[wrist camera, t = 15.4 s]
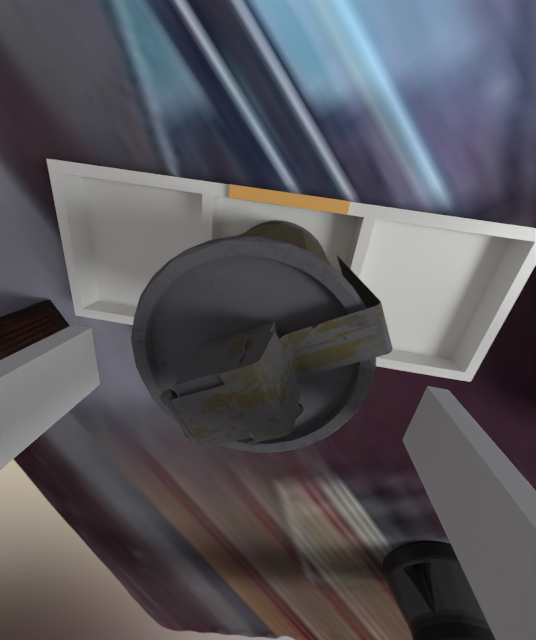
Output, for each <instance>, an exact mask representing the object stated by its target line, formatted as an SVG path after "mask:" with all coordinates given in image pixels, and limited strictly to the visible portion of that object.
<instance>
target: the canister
mask: <svg viewBox="0 0 536 640" xmlns="http://www.w3.org/2000/svg"><path fill="white" fill-rule="evenodd" d="M337 258H338V261H339V265H340V268H341V271H342V274H341V273H340V272H339V271H337V270H336V269H335V268H333V267H332V266H331V264H330V263H329V261H328V260H327V258H326V255H325V252H324V250H323V248H322V246H321V245H320V243H319V242H318V240H317V239H316V238H315V237H314V236H313V235H312V234H311V233H310V232H309V231H307V230H306V229H305V228H303V227H301V226H299V225H297V224H294V223H291V222H287V221H268V222H264V223H261V224H258V225H256V226H254V227H252V228H250V229H249V230H248V231H246V232H245V233H242V234H240V235H237V236H231V237H225V238H219V239H214V240H209V241H206V242H204V243H201V244H199V245H196V246H194V247H191V248H189V249H186V250H185V251H183V252H182V253H180V254H179V255H177V256H175V257H174V258H172V259H171V260H169V261H168V262H167V263H166V264H165V265H164V266H163V267H162V268H161V269H160V270H159V271H158V272H156V273H155V274H154V275H153V277H152V278H151V280H150V281H149V283H148V284H147V286H146V288H145V289H144V291H143V292H142V294H141V295H140V298H139V302H138V305H137V309H136V312H135V316H134V321H133V329H132V337H131V340H132V346H133V352H134V358H135V363H136V367H137V369H138V371H139V373H140V376H141V378H142V380H143V382H144V384H145V385H146V387H147V389H148V391H149V393H150V394H151V396H152V398H153V399H154V400H155V401H156V403H157V404H158V405H159V406H160V407H161V409H162V410H163V411H164V412H165V413H167V414H168V415H169V416H170V417H171V418H173V419H174V420H175V421H176V422H178V423H179V424H180V426H181V427H182V429H183V431H184V434H185V436H186V438H187V437H189V439H190V440H191V442H192V443H193V444H194V445H195V444H196V443H198V444H199V443H204V442H208V443H209V444H210V446H215V445H220V446H223V447H226V448H231V449H236V450H242V451H249V452H255V453H263V452H282V451H288V450H294V449H299V448H302V447H304V446H307V445H310V444H312V443H315V442H317V441H320V440H322V439H324V438H325V437H327V436H328V435H330V434H332V433H333V432H335V431H336V430H338V429H339V428H340V427H341V426H342V425H343V424H344V423H345V422H346V421H348V420H349V419H350V418H351V417H352V416H353V415H354V414H355V413H356V412H357V410H358V408H359V407H360V405H361V403H362V402H363V400H364V398H365V397H366V395H367V393H368V392H369V390H370V388H371V384H372V381H373V377H374V373H375V369H376V357H379V356H382V355H386V354H389V353H390V352H391V351H392V349H393V348H392V344H391V340H390V336H389V332H388V328H387V324H386V320H385V316H384V312H383V308H382V304H381V301H380V300H379V299H378V298H377V297H376V296H375V295H374V294H373V293H372V292H371V291H370V289H369V288H368V287H367V286H366V285H365V284H364V283H363V282H362V281H361V280H360V279H359V278H358V277H357V276H356V275H355V274H354V273H353V271H352V270H351V269H350V268H349V267H348V266H347V265H346V264H345V263H344V262H343V261H342V260H341V259H340V258H339V257H338V256H337ZM342 275H343V276H342Z"/></svg>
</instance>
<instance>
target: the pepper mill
mask: <svg viewBox="0 0 536 640" xmlns="http://www.w3.org/2000/svg"><path fill="white" fill-rule="evenodd" d="M67 327H69V324H68V323H67V322H66V320H65V319H64V318H63V316H62V315H61V314H60V312H59V311H58V310H57V309H56V307H55V306H54V305H53V303H52V302H51V301H50V300H46V301H43V302H39V303H35V304H32V305H30V306H28V307H26V308H24V309H21V310H18V311H16V312H13V313H10V314H7V315H5V316H2V317H0V360H2V359H4V358H6V357H8V356H10V355H12V354H14V353H16V352H18V351H20V350H22V349H24V348H26V347H28V346H31V345H33V344H35V343H37V342H39V341H41V340H43V339H45V338H47V337H49V336H51V335H53V334H55V333H57V332H59V331H61V330H63V329H65V328H67Z"/></svg>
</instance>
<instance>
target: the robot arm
mask: <svg viewBox="0 0 536 640" xmlns="http://www.w3.org/2000/svg"><path fill="white" fill-rule="evenodd" d="M99 385H100V381H99V375H98V368H97V362H96V355H95V348H94V342H93V335H92V328H89V327H83V326H77V325H72V326H69V327H67V328H65V329H63V330H61V331H59V332H57V333H55V334H53V335H51V336H49V337H47V338H45V339H43V340H41V341H39V342H37V343H35V344H33V345H31V346H28V347H26V348H24V349H22V350H20V351H18V352H16V353H14V354H12V355H10V356H8V357H6V358H4V359H2V360H0V470H1V469H2V468H3V467H4V466H5V465H7V464H8V463H9V462H10V461H11V460H12V459H14V458H15V457H16V456H17V455H18V454H19V453H21V452H22V451H23V450H24V449H25V448H26V447H28V446H29V445H30V444H31V443H32V442H33V441H35V440H36V439H37V438H38V437H39V436H40V435H42V434H43V433H44V432H45V431H46V430H47V429H49V428H50V427H51V426H52V425H53V424H54V423H56V422H57V421H58V420H59V419H60V418H61V417H63V416H64V415H65V414H66V413H67V412H68V411H70V410H71V409H72V408H73V407H74V406H75V405H77V404H78V403H79V402H80V401H81V400H82V399H84V398H85V397H86V396H87V395H88V394H89V393H91V392H92V391H93V390H94V389H95V388H96V387H98V386H99ZM403 442H404V445H405V447H406V449H407V451H408V453H409V455H410V457H411V460H412V462H413V464H414V466H415V468H416V470H417V472H418V475H419V477H420V479H421V481H422V483H423V485H424V487H425V490H426V492H427V494H428V496H429V498H430V500H431V502H432V505H433V507H434V509H435V511H436V513H437V515H438V517H439V520H440V522H441V524H442V526H443V528H444V530H445V532H446V535H447V537H448V539H449V541H450V543H451V545H449V544H444V543H435V542H423V543H415V544H410V545H406V546H403V547H400V548H398V549H396V550H394V551H393V552H391V553H390V554H389V555H388V556H387V557H386V559H385V560H384V564H383V568H384V572H385V576H386V580H387V584H388V587H389V589H390V591H391V593H392V595H393V597H394V599H395V601H396V603H397V605H398V607H399V609H400V611H401V613H402V615H403V617H404V619H405V621H406V623H407V625H408V627H409V629H410V631H411V634H412V638H413V640H536V491H535V489H534V488H533V487H532V486H531V485H530V484H529V482H528V481H527V480H526V479H525V478H524V477H523V476H522V474H521V473H520V472H519V471H518V470H517V469H516V467H515V466H514V465H513V464H512V463H511V462H510V460H509V459H508V458H507V457H506V456H505V455H504V454H503V452H502V451H501V450H500V449H499V448H498V447H497V445H496V444H495V443H494V442H493V441H492V440H491V439H490V437H489V436H488V435H487V434H486V433H485V432H484V430H483V429H482V428H481V427H480V426H479V425H478V423H477V422H476V421H475V420H474V419H473V418H472V417H471V415H470V414H469V413H468V412H467V411H466V410H465V408H464V407H463V406H462V405H461V404H460V403H459V401H458V400H457V399H456V398H455V397H454V396H453V395H452V393H451V392H450V391H449V390H447V389H441V388H435V387H429V386H427V388H426V390H425V393H424V395H423V397H422V399H421V401H420V403H419V405H418V408H417V410H416V412H415V414H414V416H413V418H412V421H411V423H410V425H409V427H408V429H407V431H406V434H405V436H404V438H403Z"/></svg>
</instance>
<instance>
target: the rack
mask: <svg viewBox="0 0 536 640" xmlns="http://www.w3.org/2000/svg"><path fill="white" fill-rule="evenodd" d="M46 160H47V165H48V171H49V176H50V181H51V187H52V192H53V197H54V203H55V208H56V213H57V219H58V224H59V229H60V235H61V240H62V245H63V251H64V256H65V262H66V267H67V272H68V278H69V283H70V288H71V294H72V299H73V304H74V310H75V315H76V316H82V317H88V318H94V319H100V320H106V321H112V322H118V323H124V324H130V325H133V321H134V316H135V312H136V309H137V305H138V302H139V298H140V295H141V294H142V292H143V291H144V289H145V288H146V286H147V284H148V283H149V281H150V280H151V278H152V277H153V275H154V274H155V273H156V272H158V271H159V270H160V269H161V268H162V267H163V266H164V265H165V264H166V263H167V262H168V261H169V260H171V259H172V258H174V257H175V256H177V255H179V254H180V253H182V252H183V251H185V250H186V249H189V248H191V247H194V246H196V245H199V244H201V243H204V242H206V241H209V240H214V239H219V238H225V237H231V236H237V235H240V234H242V233H245V232H246V231H248V230H249V229H250V228H252V227H254V226H256V225H258V224H261V223H264V222H268V221H287V222H291V223H294V224H297V225H299V226H301V227H303V228H305V229H306V230H307V231H309V232H310V233H311V234H312V235H313V236H314V237H315V238H316V239H317V240H318V242H319V243H320V245H321V246H322V248H323V250H324V252H325V255H326V258H327V260H328V261H329V263H330V264H331V266H332V267H333V268H335V269H336V270H337V271H339V272H340V273H341V274H342V271H341V268H340V265H339V261H338V258H337V256H338V257H339V258H340V259H341V260H342V261H343V262H344V263H345V264H346V265H347V266H348V267H349V268H350V269H351V270H352V271H353V273H354V274H355V275H356V276H357V277H358V278H359V279H360V280H361V281H362V282H363V283H364V284H365V285H366V286H367V287H368V288H369V289H370V291H371V292H372V293H373V294H374V295H375V296H376V297H377V298H378V299H379V300H380V301H381V304H382V308H383V312H384V316H385V320H386V324H387V328H388V332H389V336H390V340H391V344H392V348H393V349H392V351H391V352H390V353H389V354H386V355H382V356H379V357H376V366H379V367H385V368H391V369H397V370H402V371H408V372H414V373H420V374H426V375H432V376H438V377H444V378H450V379H456V380H462V381H468V382H471V380H472V379H473V377H474V375H475V373H476V371H477V370H478V368H479V366H480V364H481V362H482V361H483V359H484V357H485V355H486V353H487V352H488V350H489V348H490V346H491V344H492V343H493V341H494V339H495V337H496V335H497V334H498V332H499V330H500V328H501V326H502V325H503V323H504V321H505V319H506V318H507V316H508V314H509V312H510V310H511V309H512V307H513V305H514V303H515V301H516V300H517V298H518V296H519V294H520V292H521V291H522V289H523V287H524V285H525V283H526V282H527V280H528V278H529V276H530V274H531V273H532V271H533V269H534V267H535V265H536V228H531V227H524V226H517V225H510V224H503V223H496V222H489V221H482V220H474V219H467V218H460V217H453V216H446V215H439V214H432V213H425V212H418V211H411V210H404V209H397V208H390V207H383V206H376V205H369V204H362V203H355V202H351V201H344V200H337V199H330V198H323V197H316V196H309V195H301V194H294V193H287V192H280V191H273V190H266V189H259V188H252V187H245V186H238V185H231V184H230V185H229V184H222V183H215V182H208V181H201V180H194V179H187V178H180V177H173V176H165V175H158V174H151V173H144V172H137V171H130V170H123V169H116V168H109V167H102V166H95V165H88V164H81V163H74V162H67V161H60V160H53V159H46ZM342 276H343V275H342Z"/></svg>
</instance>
